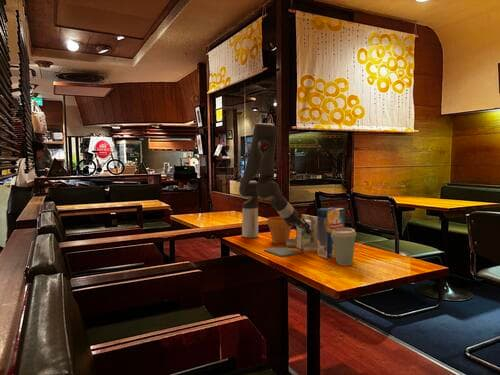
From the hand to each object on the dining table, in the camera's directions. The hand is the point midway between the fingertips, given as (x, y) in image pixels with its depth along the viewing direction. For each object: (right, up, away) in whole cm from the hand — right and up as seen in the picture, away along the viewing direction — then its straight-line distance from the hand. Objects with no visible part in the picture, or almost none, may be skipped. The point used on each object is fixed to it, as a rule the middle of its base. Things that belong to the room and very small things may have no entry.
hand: (304, 231), depth 182 cm
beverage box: (+10, -9, -14) cm, 20 cm away
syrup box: (0, -9, 0) cm, 9 cm away
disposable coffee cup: (+13, -10, -28) cm, 33 cm away
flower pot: (-11, -8, +16) cm, 21 cm away
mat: (-12, -9, -7) cm, 17 cm away
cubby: (0, -8, 0) cm, 8 cm away
